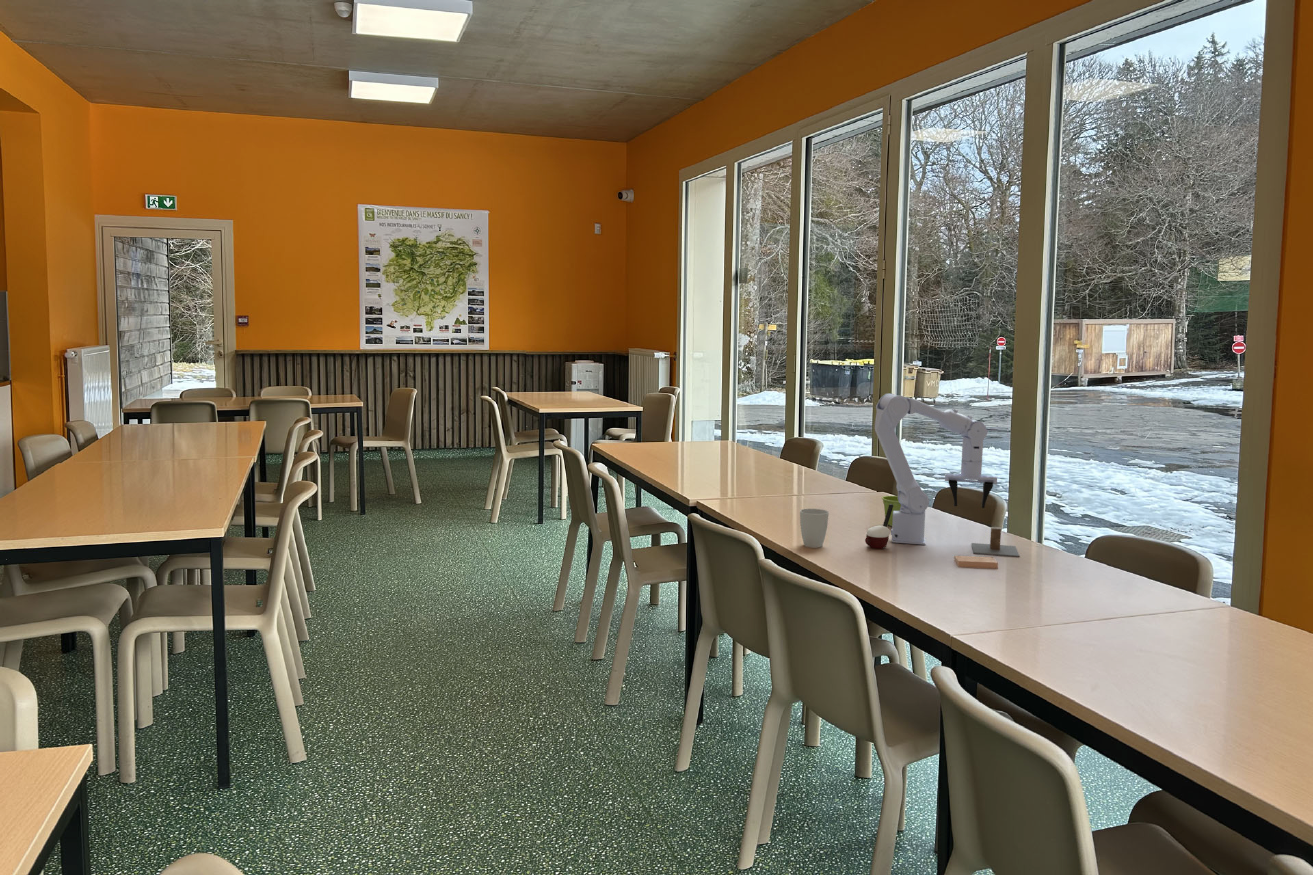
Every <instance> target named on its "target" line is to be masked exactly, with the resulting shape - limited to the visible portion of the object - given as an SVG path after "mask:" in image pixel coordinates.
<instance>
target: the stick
mask: <svg viewBox="0 0 1313 875" xmlns="http://www.w3.org/2000/svg"><path fill="white" fill-rule="evenodd" d="M1001 536H1002V528H1001V527H999V526H991V527H990V540H989V541H990V542H989V544H990V549H993V550H1000V545H1001V539H1002V538H1001Z"/></svg>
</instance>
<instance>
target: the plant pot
mask: <svg viewBox="0 0 1313 875" xmlns="http://www.w3.org/2000/svg"><path fill="white" fill-rule="evenodd" d="M881 499H882V502H883V507H884V510H883V511H884V518H885V517H886V514H887V510H888V507H889V504H893V509H892V512H891V515H890V519H889V522H888V525H887V526H891V527H892V522H893V511H900V507H901V504H900V503H899V501H898V495H886V496H885V495H884V496H882V497H881Z"/></svg>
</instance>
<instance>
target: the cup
mask: <svg viewBox="0 0 1313 875" xmlns="http://www.w3.org/2000/svg"><path fill="white" fill-rule="evenodd" d="M829 515H830V514H829V511H828V510H826V509H821V508H803V509H800V510H799V518H800V519H799V524H800V526H799V527H800V533H801V538H802V542H803V546H804V547H806V548H813V549H815V548H823V545H824V542H825V538H826V535H827V530H828V525H829V523H828V522H829Z"/></svg>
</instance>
